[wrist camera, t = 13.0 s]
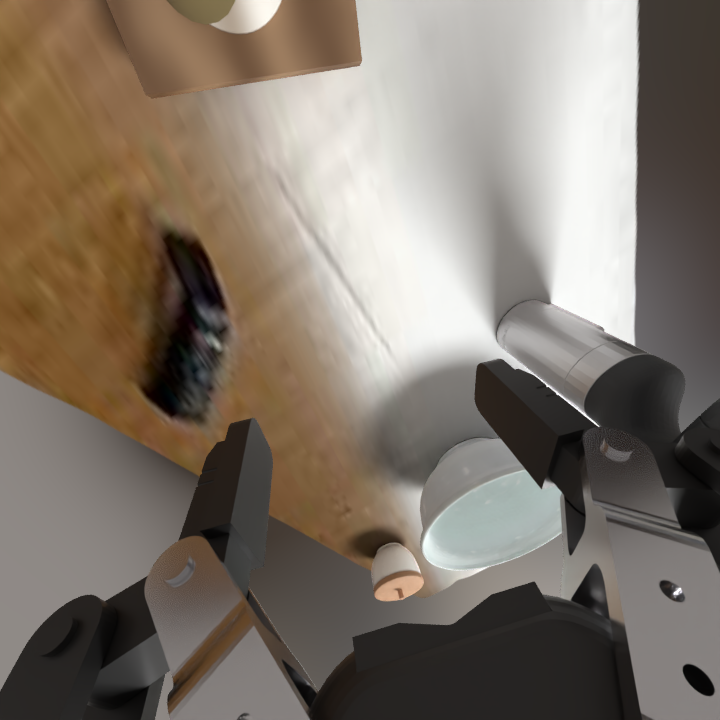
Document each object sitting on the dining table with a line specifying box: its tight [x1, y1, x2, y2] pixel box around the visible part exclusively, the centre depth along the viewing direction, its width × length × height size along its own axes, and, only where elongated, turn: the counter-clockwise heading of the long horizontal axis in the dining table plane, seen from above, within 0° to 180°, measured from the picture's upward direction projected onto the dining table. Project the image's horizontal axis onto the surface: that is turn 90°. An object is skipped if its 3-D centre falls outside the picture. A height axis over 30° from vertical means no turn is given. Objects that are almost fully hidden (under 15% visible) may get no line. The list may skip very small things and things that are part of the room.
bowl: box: [420, 438, 562, 571], centre depth 58 cm, size 32×32×15 cm
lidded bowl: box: [372, 543, 424, 601], centre depth 74 cm, size 13×13×11 cm
